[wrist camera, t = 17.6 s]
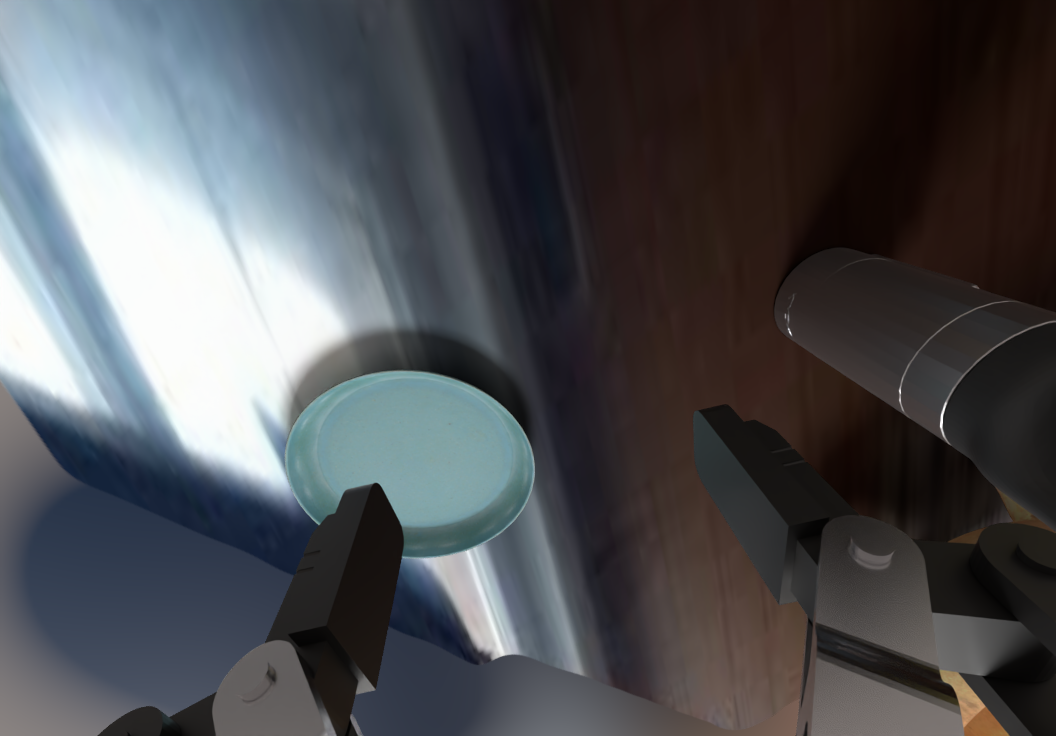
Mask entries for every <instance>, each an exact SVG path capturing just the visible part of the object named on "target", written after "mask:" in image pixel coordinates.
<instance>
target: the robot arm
mask: <svg viewBox="0 0 1056 736" xmlns="http://www.w3.org/2000/svg"><path fill="white" fill-rule="evenodd" d="M774 314H775V320H776V323H777V326H778V327H779V329H780V330H781V332H782V333H783V334H785V335H786V336H787V337H788V338H790V339H791V340H793V341H794V342H796V343H797V344H799V345H800V346H802V347H803V348H805V349H806V350H808V351H809V352H811V353H812V354H814V355H815V356H817V357H818V358H820V359H821V360H823V361H824V362H826V363H827V364H829V365H830V366H832V367H833V368H835V369H836V370H838V371H839V372H841V373H842V374H844V375H845V376H847V377H848V378H850V379H851V380H853V381H854V382H856V383H857V384H859V385H860V386H862V387H863V388H865V389H866V390H868V391H869V392H871V393H872V394H874V395H875V396H877V397H878V398H880V399H881V400H883V401H884V402H886V403H887V404H889V405H890V406H892V407H893V408H895V409H896V410H898V411H899V412H901V413H902V414H904V415H905V416H907V417H908V418H910V419H912V420H913V421H915V422H916V423H918V424H919V425H921V426H922V427H924V428H925V429H927V430H928V431H930V432H931V433H933V434H934V435H936V436H937V437H939V438H940V439H942V440H943V441H945V442H946V443H948V444H949V445H951V446H952V447H954V448H955V449H956V450H958V451H959V452H961V453H962V454H964V455H965V456H967V457H968V458H970V459H971V460H972V461H973V463H974V464H975V465H976V467H977V468H978V470H979V471H980V472H981V473H982V475H983V476H984V477H985V478H986V479H987V480H988V481H989V482H990V483H991V484H992V485H994V486H995V487H996V488H997V489H998V490H1000V491H1001V492H1002V493H1004V494H1005V495H1006V496H1008V497H1009V498H1010V499H1012V500H1013V501H1014V502H1016V503H1017V504H1019V505H1020V506H1021V507H1023V508H1024V509H1026V510H1027V511H1028V512H1030V513H1031V514H1032V515H1034V516H1035V517H1036V518H1038V519H1039V520H1040V521H1042V522H1043V523H1044V524H1046V525H1047V526H1048V527H1050V528H1051V529H1052V530H1054V531H1055V532H1056V312H1053V311H1049V310H1046V309H1043V308H1040V307H1036V306H1033V305H1030V304H1027V303H1024V302H1019V301H1016V300H1013V299H1010V298H1007V297H1003V296H1000V295H997V294H994V293H991V292H987V291H984V290H981V289H979V287H978V286H977V285H975V284H972V283H969V282H966V281H962V280H959V279H956V278H952V277H949V276H946V275H943V274H939V273H936V272H933V271H929V270H926V269H923V268H920V267H916V266H913V265H910V264H906V263H903V262H900V261H897V260H893V259H890V258H887V257H883V256H880V255H877V254H872V255H869V254H866V253H863V252H860V251H856V250H853V249H849V248H831V249H827V250H823V251H821V252H818V253H816V254H814V255H812V256H810V257H809V258H807V259H806V260H804V261H803V262H801V263H800V264H799V265H798V266H797V267H796V268H795V269H794V270H793V271H792V272H791V273H790V274H789V275H788V277H787V278H786V279H785V281H784V283H783V284H782V286H781V287H780V290H779V292H778V295H777V297H776V301H775V307H774ZM693 427H694V457H695V464H696V468H697V471H698V474H699V477H700V479H701V481H702V483H703V485H704V486H705V488H706V489H707V491H708V493H709V494H710V496H711V497H712V499H713V500H714V502H715V504H716V505H717V507H718V508H719V510H720V512H721V513H722V515H723V516H724V518H725V520H726V521H727V523H728V524H729V526H730V528H731V529H732V531H733V532H734V534H735V536H736V537H737V539H738V540H739V542H740V544H741V545H742V547H743V548H744V550H745V552H746V553H747V555H748V556H749V558H750V560H751V561H752V563H753V564H754V566H755V568H756V569H757V571H758V572H759V574H760V576H761V577H762V579H763V580H764V582H765V584H766V585H767V587H768V588H769V590H770V592H771V593H772V595H773V596H774V598H775V599H776V601H777V603H778V604H779V605H782V604H787V603H792V602H796V601H798V602H799V604H800V605H801V607H802V608H803V610H804V611H805V613H806V614H807V621H806V631H805V643H804V654H803V666H802V678H801V689H800V701H799V712H798V722H797V730H796V736H965V735H964V728H963V722H962V715H961V710H960V705H959V701H958V698H957V695H956V692H955V690H954V688H953V687H952V686H951V685H950V684H948V683H945V682H943V680H942V678H941V675H940V670H945V671H953V672H958V673H959V674H960V676H961V677H962V678H963V679H964V680H965V682H966V683H967V684H968V685H969V687H970V688H971V689H972V690H973V692H974V693H975V694H976V695H977V696H978V698H979V699H980V700H981V701H982V703H983V704H984V705H985V706H986V707H987V709H988V710H989V711H990V712H991V714H992V715H993V716H994V717H995V719H996V720H997V721H998V722H999V723H1000V725H1001V726H1002V727H1003V728H1004V730H1005V731H1006V732H1007V733H1008V734H1009V736H1056V533H1054V532H1051V531H1049V530H1046V529H1042V528H1039V527H1035V526H1031V525H1026V524H1018V523H999V524H995V525H991V526H989V527H987V528H985V529H984V530H983V531H982V532H981V534H980V536H979V538H978V540H977V543H976V544H969V543H953V542H937V541H923V540H915V539H911V538H910V537H909V536H907V535H906V534H905V533H903V532H902V531H901V530H899V529H897V528H896V527H894V526H892V525H890V524H888V523H886V522H883V521H881V520H878V519H875V518H871V517H866V516H860V515H859V514H858V513H857V512H856V511H855V510H854V509H853V508H852V507H851V506H850V505H849V504H848V503H847V502H846V501H845V500H844V499H843V498H842V497H841V496H840V495H839V494H838V493H837V492H836V491H835V490H834V489H833V488H832V487H831V486H830V485H829V484H828V483H827V482H826V481H825V480H824V479H823V478H822V477H821V476H820V475H819V474H818V473H817V472H816V471H815V470H814V469H813V468H812V467H811V466H810V465H809V464H808V463H807V462H805V461H804V458H803V457H802V456H801V455H800V454H799V453H798V452H797V451H796V450H795V449H792V448H791V445H790V444H789V443H788V442H787V441H786V440H785V439H784V438H783V437H782V436H781V435H780V434H779V433H778V432H777V431H776V430H774V429H772V428H770V427H768V426H766V425H764V424H762V423H760V422H758V421H756V420H751V421H746V422H744V421H743V420H742V419H741V418H740V417H739V416H738V415H737V414H736V413H735V411H734V410H733V409H732V408H731V407H730V406H728V405H726V404H724V405H720V406H715V407H711V408H707V409H702V410H698V411H695V412H694V415H693ZM403 548H404V535H403V530H402V526H401V523H400V521H399V519H398V517H397V515H396V513H395V512H394V510H393V508H392V506H391V504H390V502H389V500H388V498H387V496H386V494H385V492H384V490H383V488H382V487H381V485H380V484H378V483H372V484H368V485H363V486H359V487H355V488H350V489H347V490H345V491H344V493H343V495H342V497H341V500H340V502H339V505H338V507H337V510H336V512H335V513H334V514H330V515H327V516H326V518H325V519H324V520H323V521H322V523H321V524H320V525H319V526H318V527H317V529H316V530H315V531H314V532H313V534H312V536H311V538H310V540H309V542H308V545H307V547H306V549H305V552H304V558H302V559H301V561H300V563H299V566H298V568H297V570H296V571H297V574H296V575H294V577H293V580H292V582H291V584H290V586H289V589H288V591H287V593H286V596H285V598H284V600H283V603H282V605H281V607H280V610H279V612H278V614H277V617H276V619H275V621H274V623H273V626H272V628H271V631H270V633H269V635H268V637H267V639H266V641H265V643H264V644H262V645H260V646H259V647H257V648H255V649H254V650H252V651H251V652H249V653H248V654H247V655H245V656H244V657H243V658H242V659H241V660H240V661H239V662H238V663H237V664H236V665H235V666H234V667H233V668H232V670H230V672H229V673H228V674H227V676H226V677H225V679H224V680H223V682H222V683H221V685H220V687H219V689H218V691H217V692H216V693H214V694H212V695H210V696H208V697H206V698H205V699H203V700H201V701H199V702H197V703H195V704H193V705H191V706H189V707H188V708H186V709H184V710H182V711H180V712H178V713H176V714H175V715H173V716H171V717H168V716H167V715H165V714H164V713H163V712H161V711H160V710H159V709H157V708H155V707H152V706H146V707H141V708H138V709H135V710H133V711H131V712H129V713H127V714H125V715H124V716H122V717H121V718H119V719H117V720H116V721H115V722H113V723H112V724H110V725H109V726H108V727H107V728H106V729H104V730H103V731H102V732H101V733H100V734H99V735H98V736H363V735H362V733H361V731H360V728H359V726H358V724H357V722H356V720H355V718H354V716H353V715H352V714H351V712H352V707H353V703H354V699H355V694H359V693H363V692H369V691H373V690H376V686H377V681H378V676H379V670H380V665H381V661H382V656H383V650H384V645H385V640H386V635H387V630H388V625H389V620H390V615H391V610H392V605H393V600H394V594H395V589H396V584H397V579H398V574H399V569H400V564H401V559H402V554H403Z"/></svg>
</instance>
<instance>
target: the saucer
mask: <svg viewBox="0 0 1056 736" xmlns="http://www.w3.org/2000/svg"><path fill="white" fill-rule="evenodd" d="M285 467H286V475H287V478H288V482H289V484H290V487H291V490H292V492H293V494H294V496H295V498H296V499H297V501H298V502H299V504H300V505H301V506H302V508H303V509H304V510H305V512H306V513H307V514H308V515H309V516H310V517H311V518H312V519H313V520H314V521H315V522H316V523H317V524H318V525H320V524H321V523H322V521H323V520H324V519H325V518H326V516H327V515H330V514H334V513H335V512H336V510H337V507H338V505H339V502H340V500H341V497H342V495H343V493H344V491H345V490H347V489H350V488H355V487H359V486H363V485H368V484H372V483H378V484H380V485H381V487H382V488H383V490H384V492H385V494H386V496H387V498H388V500H389V502H390V504H391V506H392V508H393V510H394V512H395V513H396V515H397V517H398V519H399V521H400V523H401V526H402V530H403V535H404V548H403V554H402V558H434V557H442V556H447V555H452V554H456V553H460V552H464V551H467V550H469V549H472V548H475V547H477V546H479V545H481V544H483V543H485V542H487V541H489V540H491V539H492V538H494V537H495V536H497V535H498V534H500V533H501V532H502V531H504V530H505V529H506V528H507V527H508V526H509V525H510V524H511V523H513V521H514V520H515V519H516V518H517V517H518V516H519V514H520V513H521V511H522V510H523V508H524V507H525V505H526V503H527V501H528V499H529V496H530V494H531V491H532V487H533V483H534V476H535V463H534V456H533V452H532V448H531V445H530V442H529V440H528V438H527V436H526V434H525V432H524V430H523V429H522V427H521V426H520V424H519V423H518V421H517V420H516V419H515V418H514V417H513V415H512V414H511V413H510V412H509V411H508V410H507V409H506V408H505V407H504V406H503V405H502V404H500V403H499V402H498V401H497V400H495V399H494V398H493V397H492V396H490V395H489V394H487V393H485V392H484V391H482V390H480V389H479V388H477V387H475V386H473V385H471V384H469V383H467V382H464V381H462V380H459V379H456V378H453V377H450V376H447V375H443V374H439V373H434V372H429V371H421V370H386V371H379V372H374V373H369V374H365V375H361V376H358V377H355V378H352V379H350V380H347V381H344V382H342V383H340V384H338V385H336V386H334V387H332V388H330V389H329V390H327V391H325V392H324V393H322V394H321V395H319V396H318V397H317V398H316V399H314V400H313V401H312V402H311V403H310V404H309V405H308V406H307V407H306V408H305V409H304V410H303V411H302V413H301V414H300V415H299V417H298V418H297V420H296V421H295V423H294V425H293V427H292V429H291V431H290V434H289V436H288V440H287V443H286V450H285Z"/></svg>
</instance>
